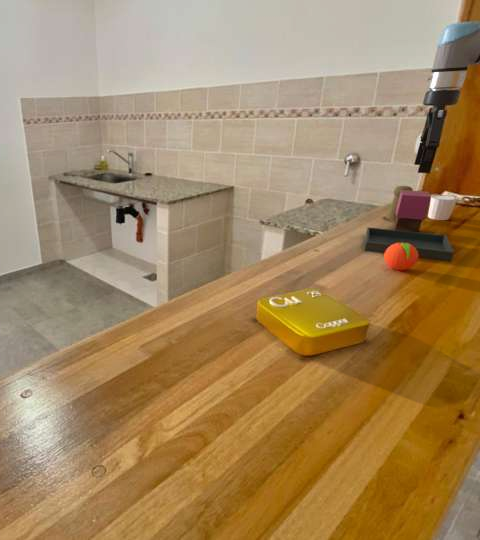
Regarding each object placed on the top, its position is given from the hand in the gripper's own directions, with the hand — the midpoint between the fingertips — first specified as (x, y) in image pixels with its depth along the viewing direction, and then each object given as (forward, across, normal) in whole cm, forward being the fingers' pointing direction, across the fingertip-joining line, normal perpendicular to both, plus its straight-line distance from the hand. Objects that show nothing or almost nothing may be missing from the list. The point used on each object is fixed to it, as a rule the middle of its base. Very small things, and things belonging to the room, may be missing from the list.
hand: (421, 168), depth 113 cm
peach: (+20, +34, -3) cm, 39 cm away
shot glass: (+19, -19, +10) cm, 29 cm away
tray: (+19, +16, -1) cm, 25 cm away
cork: (+20, -14, -2) cm, 24 cm away
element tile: (+20, +72, -19) cm, 77 cm away
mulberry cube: (+14, 0, 0) cm, 14 cm away
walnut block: (+19, 0, 0) cm, 19 cm away
